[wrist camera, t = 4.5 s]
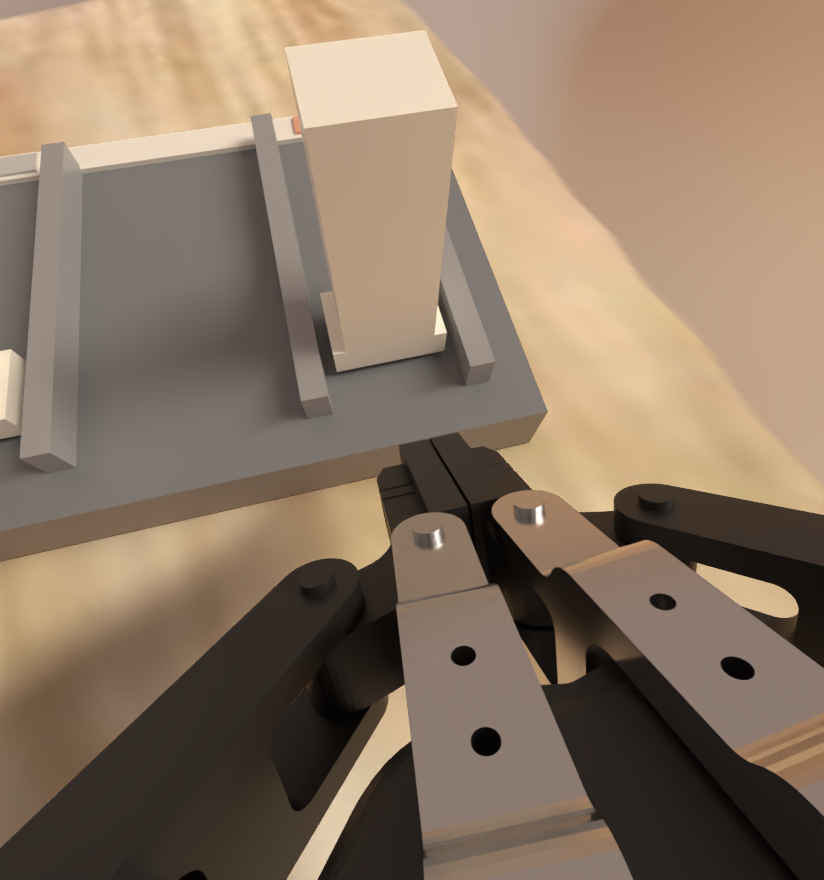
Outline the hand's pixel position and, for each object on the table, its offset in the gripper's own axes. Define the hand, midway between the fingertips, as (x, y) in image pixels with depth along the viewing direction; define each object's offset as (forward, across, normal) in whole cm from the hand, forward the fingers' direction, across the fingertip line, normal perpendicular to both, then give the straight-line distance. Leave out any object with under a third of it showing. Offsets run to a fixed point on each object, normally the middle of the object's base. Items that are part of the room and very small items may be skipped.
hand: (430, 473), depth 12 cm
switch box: (+10, +6, -4) cm, 13 cm away
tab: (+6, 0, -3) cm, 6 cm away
